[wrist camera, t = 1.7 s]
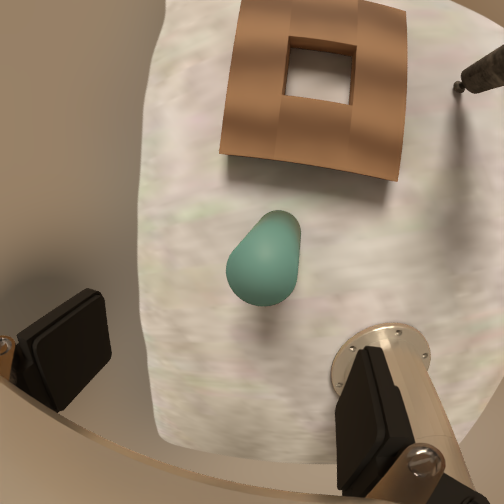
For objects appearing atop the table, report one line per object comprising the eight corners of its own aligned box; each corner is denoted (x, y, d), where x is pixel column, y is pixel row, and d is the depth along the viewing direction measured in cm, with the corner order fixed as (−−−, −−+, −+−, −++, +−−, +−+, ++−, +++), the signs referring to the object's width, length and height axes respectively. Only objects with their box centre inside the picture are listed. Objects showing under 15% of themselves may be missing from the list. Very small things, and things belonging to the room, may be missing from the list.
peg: (297, 256, 30) (290, 311, 18) (254, 249, 30) (223, 299, 19) (304, 214, 29) (303, 245, 17) (259, 207, 29) (229, 233, 18)
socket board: (388, 180, 26) (397, 181, 23) (227, 154, 28) (218, 153, 25) (398, 23, 21) (405, 11, 18) (249, 2, 23) (243, -12, 20)
